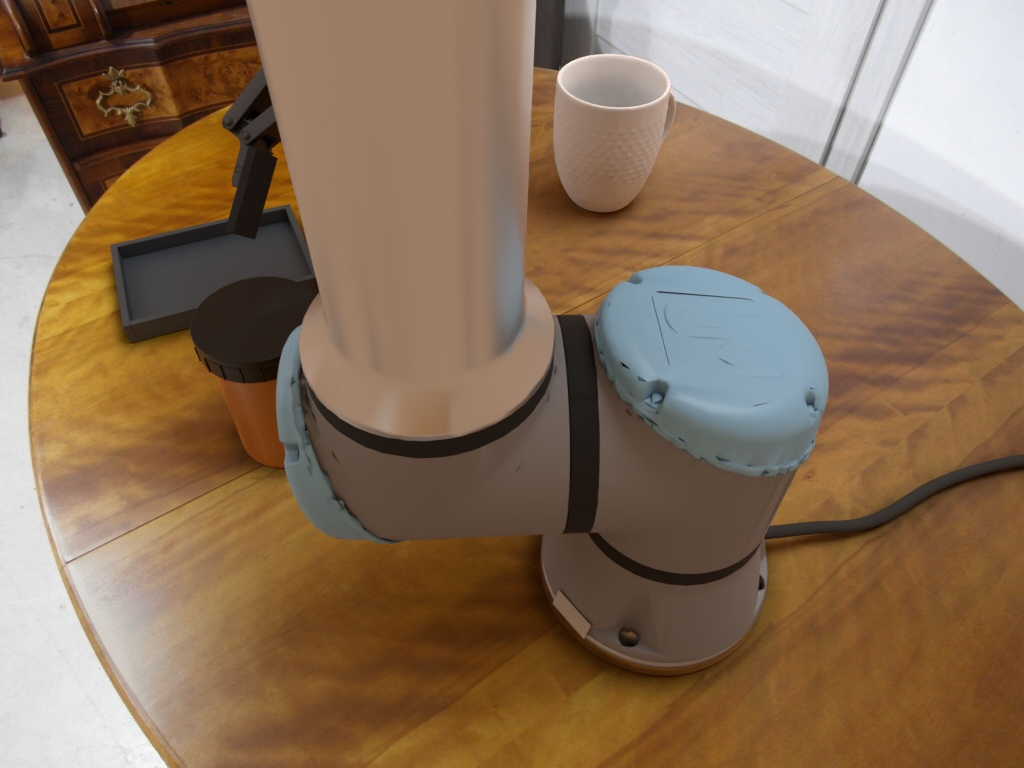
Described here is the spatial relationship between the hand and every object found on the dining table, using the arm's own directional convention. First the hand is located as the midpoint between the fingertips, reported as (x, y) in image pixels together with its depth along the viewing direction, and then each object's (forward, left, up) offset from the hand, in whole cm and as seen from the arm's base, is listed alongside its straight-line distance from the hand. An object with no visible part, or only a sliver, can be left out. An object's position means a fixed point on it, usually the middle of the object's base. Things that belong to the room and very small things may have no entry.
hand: (315, 260), depth 57 cm
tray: (+7, -16, -12) cm, 21 cm away
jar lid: (+5, +5, 0) cm, 7 cm away
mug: (-34, -14, -12) cm, 39 cm away
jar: (+5, +5, -12) cm, 14 cm away
